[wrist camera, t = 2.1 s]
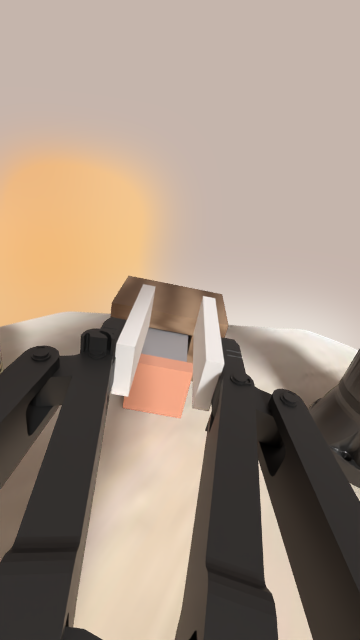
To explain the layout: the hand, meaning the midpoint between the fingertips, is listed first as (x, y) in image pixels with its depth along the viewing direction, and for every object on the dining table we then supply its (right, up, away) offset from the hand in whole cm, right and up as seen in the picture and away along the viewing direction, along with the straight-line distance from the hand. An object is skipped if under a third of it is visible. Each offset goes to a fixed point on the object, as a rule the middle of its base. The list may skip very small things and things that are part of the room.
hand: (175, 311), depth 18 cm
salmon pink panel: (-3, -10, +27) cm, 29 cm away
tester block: (-3, -7, +37) cm, 37 cm away
